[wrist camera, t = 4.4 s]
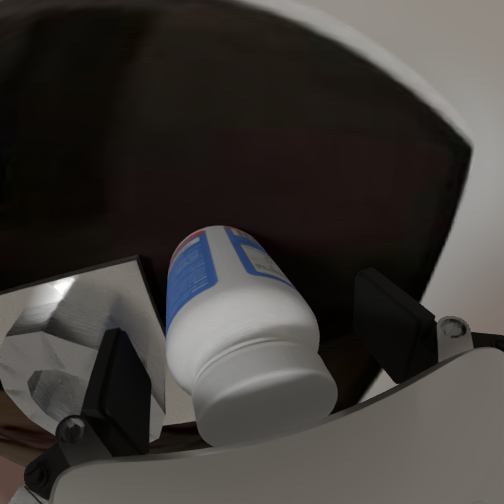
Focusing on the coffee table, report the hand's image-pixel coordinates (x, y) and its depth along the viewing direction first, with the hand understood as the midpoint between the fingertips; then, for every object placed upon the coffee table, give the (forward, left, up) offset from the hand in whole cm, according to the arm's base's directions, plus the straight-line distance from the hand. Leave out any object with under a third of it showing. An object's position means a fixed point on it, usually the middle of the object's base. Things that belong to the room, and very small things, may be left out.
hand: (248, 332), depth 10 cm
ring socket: (+5, -11, -6) cm, 14 cm away
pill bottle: (0, 0, -6) cm, 6 cm away
